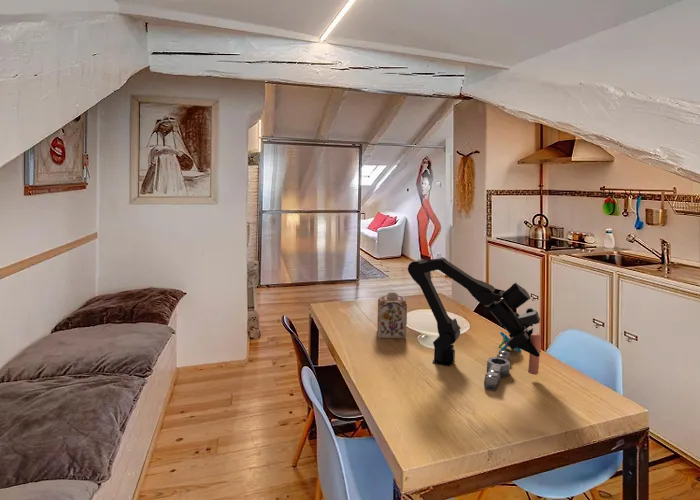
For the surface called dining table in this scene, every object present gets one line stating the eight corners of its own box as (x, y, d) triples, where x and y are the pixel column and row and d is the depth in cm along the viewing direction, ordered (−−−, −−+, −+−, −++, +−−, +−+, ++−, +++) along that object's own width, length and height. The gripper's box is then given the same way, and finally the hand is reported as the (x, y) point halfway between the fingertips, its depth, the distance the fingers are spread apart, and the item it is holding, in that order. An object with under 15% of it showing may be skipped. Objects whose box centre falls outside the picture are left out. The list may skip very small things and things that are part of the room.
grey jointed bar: (478, 388, 134) (478, 375, 134) (494, 355, 160) (495, 345, 160) (501, 393, 131) (502, 380, 131) (514, 359, 157) (515, 348, 156)
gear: (526, 352, 159) (507, 333, 160) (514, 363, 160) (496, 344, 160) (516, 345, 170) (498, 327, 171) (505, 355, 171) (487, 338, 171)
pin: (527, 373, 140) (530, 335, 138) (528, 369, 142) (531, 332, 141) (537, 375, 138) (540, 337, 137) (538, 371, 141) (541, 334, 139)
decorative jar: (406, 339, 178) (407, 297, 175) (378, 338, 178) (379, 296, 175) (403, 329, 190) (404, 290, 187) (377, 329, 190) (377, 289, 187)
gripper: (521, 309, 131) (558, 350, 127) (528, 295, 147) (561, 332, 143) (493, 329, 136) (528, 369, 132) (503, 314, 152) (534, 349, 148)
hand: (539, 354), depth 139 cm, fingers closed on pin, 3 cm apart
